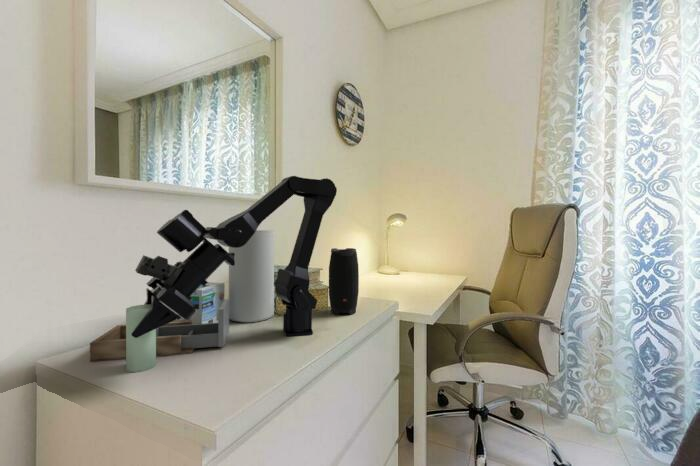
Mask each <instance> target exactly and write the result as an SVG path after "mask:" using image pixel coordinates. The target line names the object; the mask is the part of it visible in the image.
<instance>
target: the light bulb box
mask: <svg viewBox="0 0 700 466" xmlns="http://www.w3.org/2000/svg"><path fill="white" fill-rule="evenodd" d="M190 297H191V298H192V299H191V300H190V301H192V302H193V303H194V304H195V313H194V314H193V315H192V316H191V317H190V318H189V319H188V320H186V319H184V318H183V317H182V316H180V315H179V316H180V317H181V318H180V319H177V322H180V321H193V324H206V323H218V310H219V308H220V306H221V305H222V303H223V301H224V300H225V282H213V281H212V282H210V281H207V284H206V285H205V286H203V285H201V286H200V287H199V288H198V289H197V290H196V291H195V292H194V293H193V294H192V295H191V296H190Z"/></svg>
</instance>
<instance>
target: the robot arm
mask: <svg viewBox="0 0 700 466" xmlns="http://www.w3.org/2000/svg"><path fill="white" fill-rule="evenodd" d="M337 191H338V190H337V186H336V184H335V182H333V180H332V179H330V178H325V177H324V178H321V179H317V178H316V179H315V178H306V177H300V176H297V175H291V176H287V177H284V178H283V179H282V180H281V182H280V183H278V184H277V185H275V186H274V187H273V188H272V189H270V190H269V191H268V192H267V193H266V194H265V195H263V196H262V197H260V198H259V199H258V200H257V201H256V202H254V203H253V204H252V205H251V206H249V207H248V208H247V209H246V210H244V211H241V212H240V213H237V214H235V215H233V216H231V217H229V218H227V219H226V220H223V221H221V222H219V223H218V224H217V226H216V227H213V226H211V227H210V226H207V227H205V226H204V225H203V224H202V223H200V222H199V221H198V220H197V219H196V218H195V217H194V216H193V214H192V213H191V212H190V211H189V210H188V209H183V210H182V211H181V212H179V213H178V214H177V215H176V216H174V217H173V218H171V219H169V220H168V221H167V222H165V223H164V224H163V225H162V226H161V227H160V228H159V229H158V230H157V231H156V234H158V235H159V236H160V237H161V238H163V240H165V241H166V242H167V243H168V244H170V246H172V247H173V248H174V249H175V250H176V251H178V252H179V253H183V252H185V251H186V252H187V253H190V252H191V254H189V255H188V256H187V257H186V258H185V259H184V260H183V261H181V260H179V261H177V262H176V263H175V264H169V260H168V258H165V257H162V256H160V255H157V256H156V257H154V258H152V257H150V256H147V255H142V257H141V259H140V261H139V262H138V264H137V267H136V268H135V270H134V271H135V272H136V274H139V275H142V276H149V277H151V279H150V280H148V282H147V283H146V285H147V286H148V287H147V288H146V291H145V292H146V300H145V302H144V303H143V305H146V304H151V305H152V306H151V309H150V310H149V311H148V312H147V314H146V315H145V316H144V318H143V319H142V320H141V321H140V323H139V324H138V325H137V327H136V328H135V329H134V331H133V332H132V334H131V335H132V336H133V337H135V338H138V337H140V336H142V335H144V334H146V333H148V332H150V331H152V330H154V329H156V328H158V327H161V326H163V325H165V324H167V323H169V322H175V321H177V320H178V319H180V318H181V317H180V316H182V317H183V318H184V319H186V320H188V319H189V318H190V317H191V316H192V315H193V314H194V313H195V304H194V303H193V302H192V301H190V300H191V299H192V298H191V297H190V296H191V295H192V294H193V293H194V292H195V291H196V290H197V289H198V288H199V287H200V286H201V285H203V286H205V285H206V284H207V282H208V279H209V277H211V275H213V273H214V272H215V271H217V269H218V268H219V267H220V266H221V265H222V264H223V263H226V265H228V266H229V265H232V266H234V265H235V260H234V255H235V253H232V252H230V253H229V251H227V250H226V249H225V248H224V247H226V248H227V247H228V248H229V247H232V248H239V247H242V246H243V245H245V244H246V243H247V242H248V241H249V239H250V238H251V237H252V236H253V234H254V233H255V232H256V230H257V229H258V228H259V227H260V225H261V224H262V222H264V221H265V220H266V219H267V218H268V217H269V216H270V215H272V214H273V213H274V212H276V210H277V209H278V208H280V207H281V206H283V204H285V203H286V202H287V201H288V200H289V199H290V198H291V197H293V196H298V197H301V198H302V197H303V205H304V213H303V217H302V220H301V223H300V227H299V230H298V233H297V236H296V240H295V243H294V246H293V250H292V254H291V257H290V260H289V262H288V265H287V266H286V267H285V268H284V269H283V268H279V269H278V270H277V275H276V278H275V280H274V293H275V294H276V296H277V297H278V298H279V299H280V301H281V303H282V305H284V306H285V311H284V312H283V313H282V330H283V332H285V336H286V337H289V336H290V337H291V336H303V335H312V334H314V331H313V329H312V328H313V327H312V326H313V325H312V324H313V311H312V310H315V309H316V307H317V303H318V299H317V298H316V297H315V296H314V295H312V293H311V292H310V291H309V289H310V274H309V266H310V263H311V258H312V255H313V252H314V248H315V245H316V242H317V237H318V234H319V233H320V232H319V231H320V228H321V224H322V221H323V218H324V215H325V214H326V213H327V211H328V210H329V209H330V207H331V206H332V204H333V203H334V200H335V198H336V196H337ZM210 240H213V241H214V240H215V241H217V243H216V244H213V243H212V242H211V241H210ZM222 246H223V247H222ZM193 250H194V251H193ZM149 288H151V289H149ZM179 315H180V316H179Z"/></svg>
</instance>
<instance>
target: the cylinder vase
mask: <svg viewBox="0 0 700 466" xmlns="http://www.w3.org/2000/svg"><path fill="white" fill-rule="evenodd" d="M230 252H232V253H235V255H234V260H235V265H234V266H232V265H228V299H229V320H231V321H233V322H237V323H257V322H263V321H265V320H266V321H267V320H269V319H270V318H273V316H274V314H275V285H274V282H275V230H256V232H255V233H254V234H253V236H252V237H251V238H250V239H249V241H248V242H247V243H246V244H245V245H243V246H242V247H239V248H232V247H228V253H230Z"/></svg>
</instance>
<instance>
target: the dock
mask: <svg viewBox="0 0 700 466" xmlns="http://www.w3.org/2000/svg"><path fill="white" fill-rule="evenodd" d="M190 324H193V321H180V322H178V321H172V322H169V323H167V324H165V325H163V326H174V325H190ZM195 349H196V348H191V349H181V335H173V336H159V337H156V357H160V356H162V357H163V356H172V355H174V356H175V355H184V354H193V352H194V350H195ZM124 359H125V360H126V324H118V325H116V326H114V327H112V328H111V329H109V330H108V331H106V332H105V333H103V334H102V335H100V336H99V337H97V338H95V339H94V340H93V341H91V342H89V361H90V362H91V363H92V362H102V361H113V360H124Z"/></svg>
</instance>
